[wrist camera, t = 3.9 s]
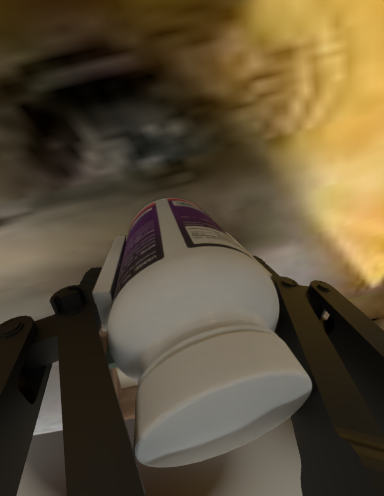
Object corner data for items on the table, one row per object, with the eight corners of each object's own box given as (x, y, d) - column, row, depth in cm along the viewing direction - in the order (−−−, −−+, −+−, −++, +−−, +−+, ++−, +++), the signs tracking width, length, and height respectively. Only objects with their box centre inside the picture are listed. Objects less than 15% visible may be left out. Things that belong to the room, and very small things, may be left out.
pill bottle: (147, 276, 19) (146, 497, 7) (114, 209, 15) (-40, 459, 3) (214, 254, 20) (325, 418, 7) (200, 183, 16) (398, 290, 3)
